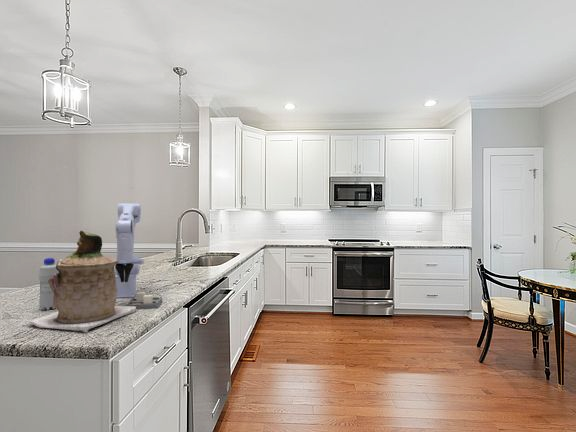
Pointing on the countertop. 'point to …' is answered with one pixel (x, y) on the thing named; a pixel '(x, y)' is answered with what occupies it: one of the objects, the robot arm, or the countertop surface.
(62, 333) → the countertop surface
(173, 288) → the countertop surface
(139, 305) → the tray
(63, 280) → the cookie jar
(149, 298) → the tab
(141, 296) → the tab
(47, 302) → the bottle
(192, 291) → the countertop surface
